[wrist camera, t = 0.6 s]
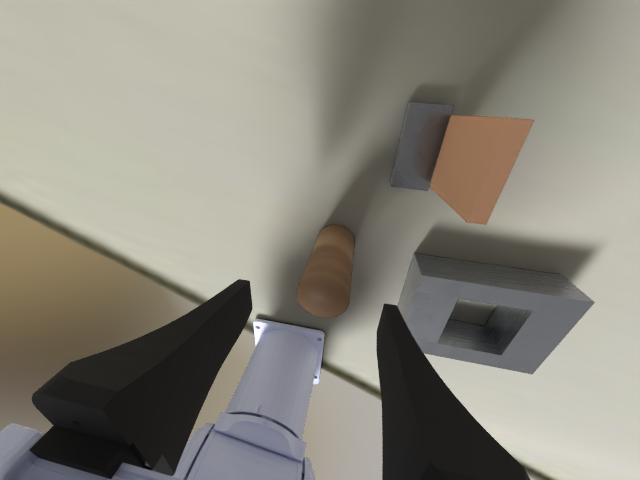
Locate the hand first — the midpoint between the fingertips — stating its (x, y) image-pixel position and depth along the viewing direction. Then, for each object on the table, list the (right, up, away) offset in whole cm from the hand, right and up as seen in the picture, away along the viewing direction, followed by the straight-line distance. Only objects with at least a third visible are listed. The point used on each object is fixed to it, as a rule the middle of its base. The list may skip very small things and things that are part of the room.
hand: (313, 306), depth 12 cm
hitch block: (+13, -2, +8) cm, 16 cm away
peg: (+2, +3, +8) cm, 8 cm away
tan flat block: (+8, +9, +2) cm, 12 cm away
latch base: (+7, +10, +3) cm, 12 cm away
